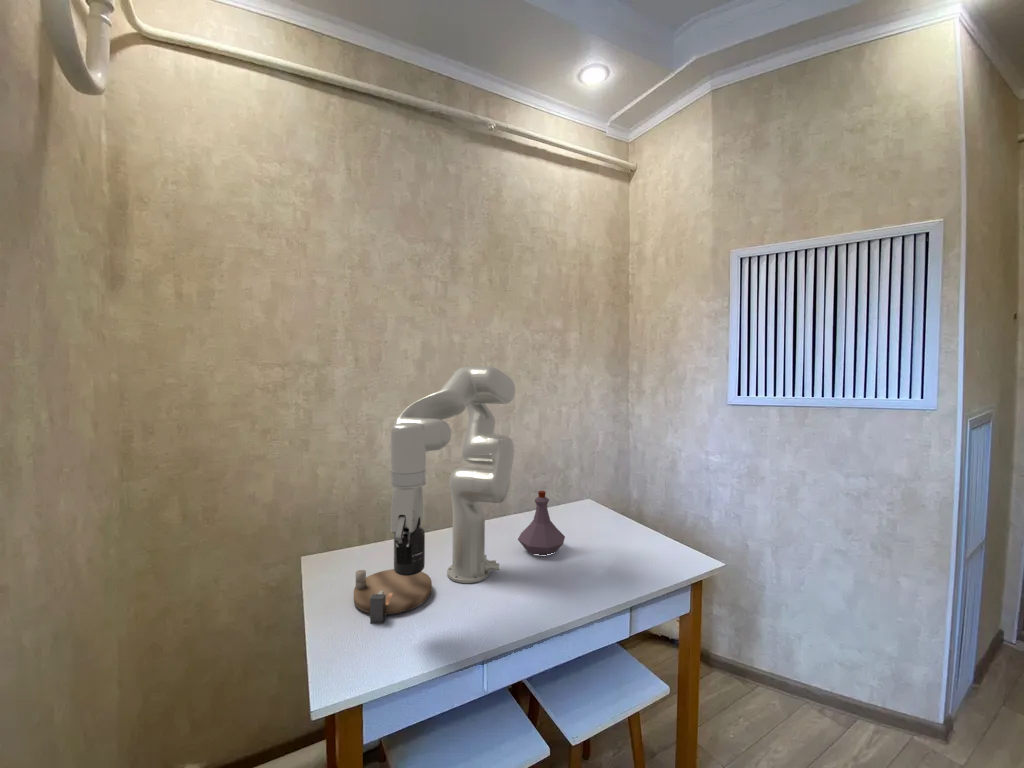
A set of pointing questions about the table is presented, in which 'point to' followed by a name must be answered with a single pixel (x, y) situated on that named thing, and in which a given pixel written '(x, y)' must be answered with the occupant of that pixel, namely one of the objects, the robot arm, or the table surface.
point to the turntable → (392, 590)
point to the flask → (541, 531)
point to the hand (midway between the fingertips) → (409, 555)
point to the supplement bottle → (417, 553)
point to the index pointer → (378, 608)
